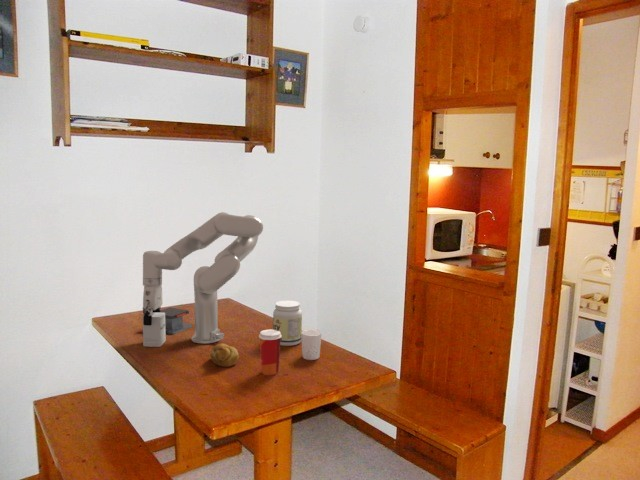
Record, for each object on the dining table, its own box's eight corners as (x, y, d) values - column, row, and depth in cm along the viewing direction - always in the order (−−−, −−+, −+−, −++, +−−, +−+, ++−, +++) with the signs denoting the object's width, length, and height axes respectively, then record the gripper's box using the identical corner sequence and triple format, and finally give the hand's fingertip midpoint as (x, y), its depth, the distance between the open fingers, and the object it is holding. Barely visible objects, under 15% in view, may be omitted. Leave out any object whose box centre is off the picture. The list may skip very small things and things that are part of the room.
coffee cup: (269, 366, 196) (270, 327, 194) (286, 371, 191) (286, 332, 189) (253, 372, 189) (253, 332, 187) (269, 378, 184) (269, 337, 182)
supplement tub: (268, 339, 226) (268, 301, 224) (294, 335, 231) (294, 298, 229) (279, 348, 215) (280, 308, 213) (306, 344, 221) (307, 305, 218)
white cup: (303, 361, 201) (304, 336, 200) (298, 354, 209) (299, 330, 207) (323, 359, 203) (323, 334, 202) (318, 352, 211) (318, 328, 210)
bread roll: (204, 359, 201) (204, 339, 200) (228, 355, 207) (227, 335, 206) (219, 370, 191) (219, 349, 190) (243, 365, 197) (243, 344, 195)
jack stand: (192, 327, 241) (191, 310, 240) (172, 334, 230) (172, 317, 229) (170, 322, 247) (170, 306, 246) (150, 330, 235) (149, 313, 234)
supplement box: (160, 347, 214) (160, 317, 213) (142, 346, 214) (141, 316, 213) (166, 341, 222) (165, 312, 220) (149, 340, 222) (148, 311, 220)
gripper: (153, 286, 205) (153, 328, 208) (168, 277, 223) (168, 316, 225) (134, 285, 206) (134, 327, 208) (151, 276, 223) (151, 315, 225)
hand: (152, 321), depth 216 cm, fingers open, 9 cm apart
